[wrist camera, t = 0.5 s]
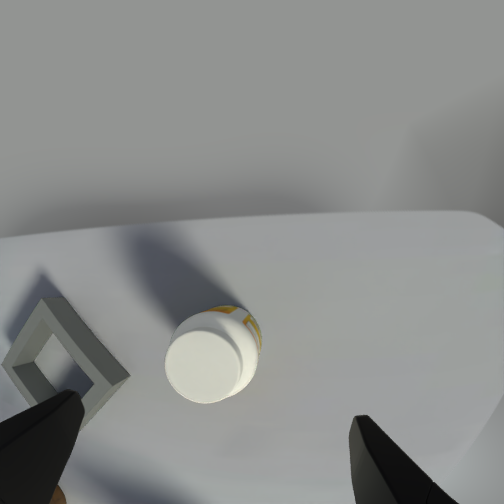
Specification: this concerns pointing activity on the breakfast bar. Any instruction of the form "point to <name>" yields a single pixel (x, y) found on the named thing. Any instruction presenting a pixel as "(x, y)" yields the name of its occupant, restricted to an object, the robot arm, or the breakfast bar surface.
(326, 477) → the breakfast bar surface
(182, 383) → the supplement bottle
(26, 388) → the grey square frame
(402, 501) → the robot arm
